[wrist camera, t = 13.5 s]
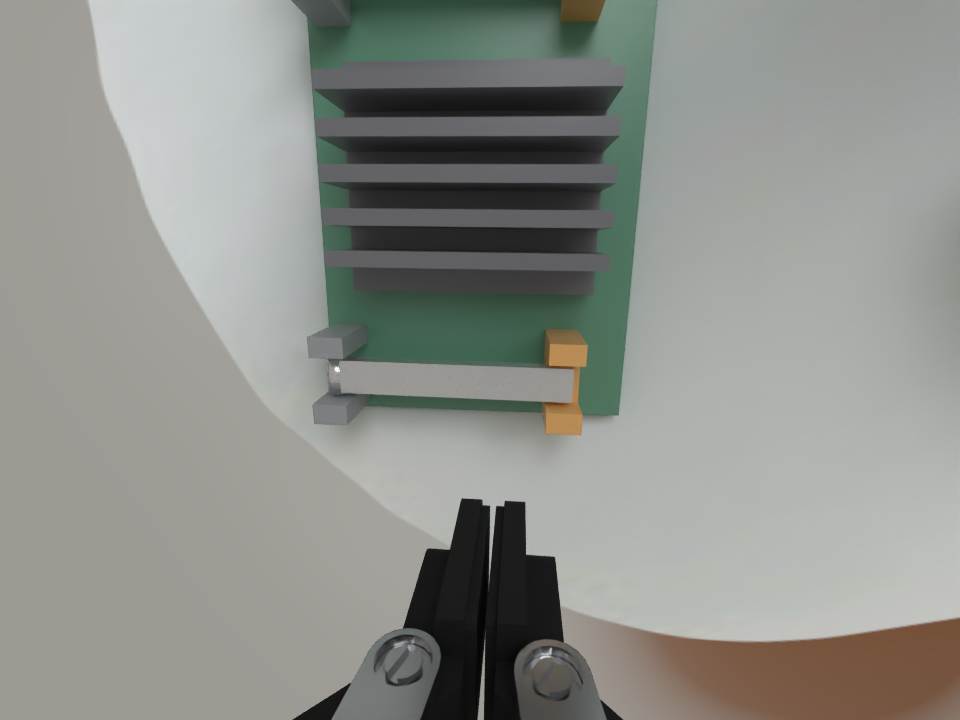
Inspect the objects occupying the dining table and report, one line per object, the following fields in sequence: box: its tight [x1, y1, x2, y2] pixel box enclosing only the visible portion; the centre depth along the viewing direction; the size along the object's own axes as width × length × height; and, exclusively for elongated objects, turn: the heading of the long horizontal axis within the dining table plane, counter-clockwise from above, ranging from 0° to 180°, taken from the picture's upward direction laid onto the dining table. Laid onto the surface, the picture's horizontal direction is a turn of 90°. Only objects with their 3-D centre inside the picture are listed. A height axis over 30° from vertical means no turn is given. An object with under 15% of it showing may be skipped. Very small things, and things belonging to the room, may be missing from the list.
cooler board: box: [292, 0, 657, 435], centre depth 25 cm, size 28×19×7 cm
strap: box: [326, 357, 574, 403], centre depth 28 cm, size 2×15×1 cm, turn 89°
